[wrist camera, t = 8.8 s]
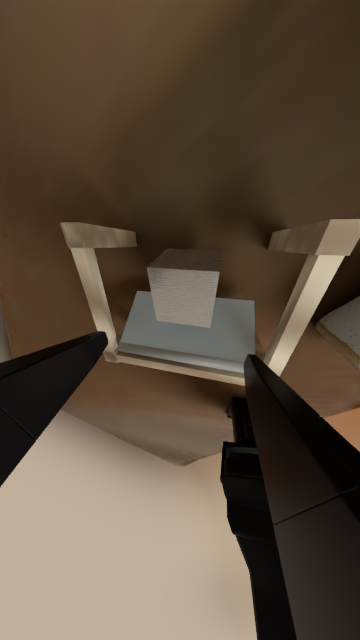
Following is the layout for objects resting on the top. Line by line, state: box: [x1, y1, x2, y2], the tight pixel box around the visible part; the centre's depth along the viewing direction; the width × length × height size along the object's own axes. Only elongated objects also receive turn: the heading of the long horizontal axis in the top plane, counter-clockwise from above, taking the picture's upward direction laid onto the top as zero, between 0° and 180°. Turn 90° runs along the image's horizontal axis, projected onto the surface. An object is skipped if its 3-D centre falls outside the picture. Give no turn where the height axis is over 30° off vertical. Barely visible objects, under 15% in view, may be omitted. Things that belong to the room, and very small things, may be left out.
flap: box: [118, 291, 255, 373], centre depth 15 cm, size 8×14×1 cm
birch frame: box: [60, 219, 360, 386], centre depth 15 cm, size 14×18×8 cm
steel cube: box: [147, 249, 220, 328], centre depth 13 cm, size 5×5×5 cm
